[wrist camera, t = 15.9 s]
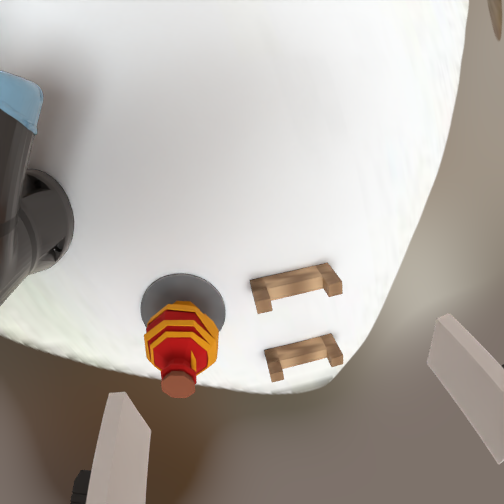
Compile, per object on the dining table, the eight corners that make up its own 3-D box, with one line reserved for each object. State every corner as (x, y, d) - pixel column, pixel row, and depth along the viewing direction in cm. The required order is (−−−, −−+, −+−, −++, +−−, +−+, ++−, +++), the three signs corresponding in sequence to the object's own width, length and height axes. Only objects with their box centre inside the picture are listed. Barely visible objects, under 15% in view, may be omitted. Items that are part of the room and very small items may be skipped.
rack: (265, 358, 53) (271, 382, 48) (249, 280, 47) (255, 301, 41) (331, 341, 54) (343, 363, 48) (327, 262, 47) (342, 281, 42)
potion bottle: (202, 348, 50) (204, 421, 36) (142, 327, 47) (125, 398, 33) (229, 298, 47) (239, 369, 33) (163, 273, 44) (147, 340, 30)
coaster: (157, 349, 50) (156, 352, 49) (129, 283, 45) (128, 285, 44) (232, 335, 50) (233, 338, 50) (214, 265, 45) (214, 268, 44)
